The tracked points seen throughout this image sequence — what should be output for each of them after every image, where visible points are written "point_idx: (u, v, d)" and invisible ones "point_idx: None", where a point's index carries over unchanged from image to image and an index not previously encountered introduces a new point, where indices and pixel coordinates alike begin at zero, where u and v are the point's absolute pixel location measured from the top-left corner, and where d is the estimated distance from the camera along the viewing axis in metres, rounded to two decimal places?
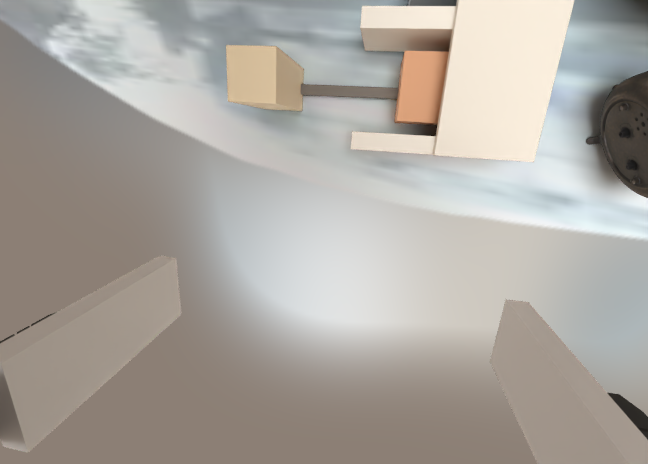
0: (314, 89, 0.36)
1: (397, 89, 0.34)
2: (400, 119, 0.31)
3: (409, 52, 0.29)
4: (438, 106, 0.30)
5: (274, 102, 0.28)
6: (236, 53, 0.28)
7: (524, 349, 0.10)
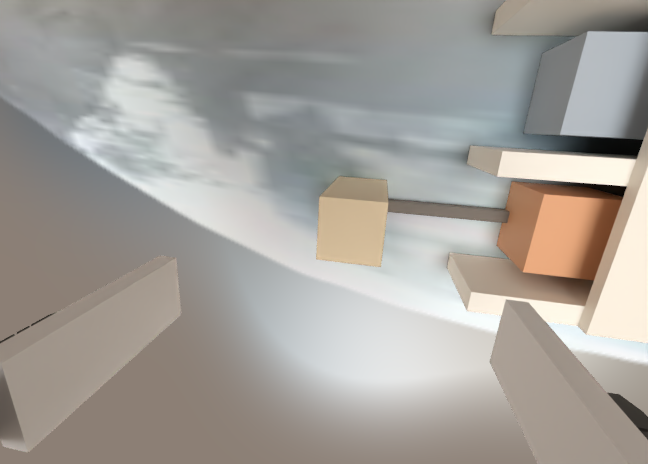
0: (401, 207, 0.29)
1: (508, 213, 0.28)
2: (528, 270, 0.24)
3: (550, 196, 0.22)
4: (581, 259, 0.23)
5: (378, 265, 0.22)
6: (332, 207, 0.21)
7: (524, 349, 0.10)
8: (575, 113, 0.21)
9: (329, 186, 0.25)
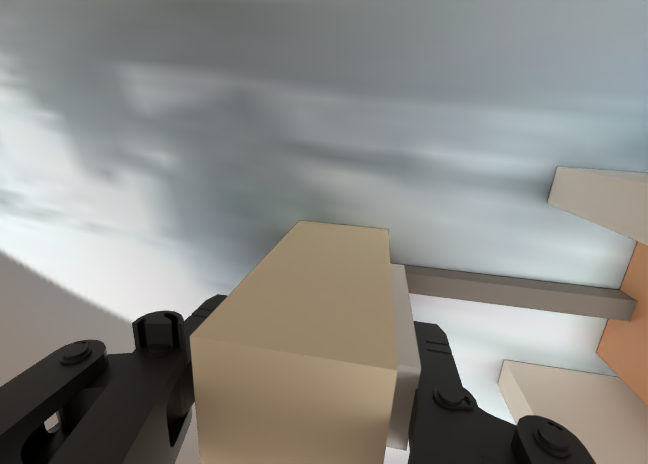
0: (416, 283, 0.15)
1: (634, 304, 0.14)
2: None
3: None
4: None
5: None
6: (229, 367, 0.07)
7: None
8: None
9: (257, 265, 0.11)
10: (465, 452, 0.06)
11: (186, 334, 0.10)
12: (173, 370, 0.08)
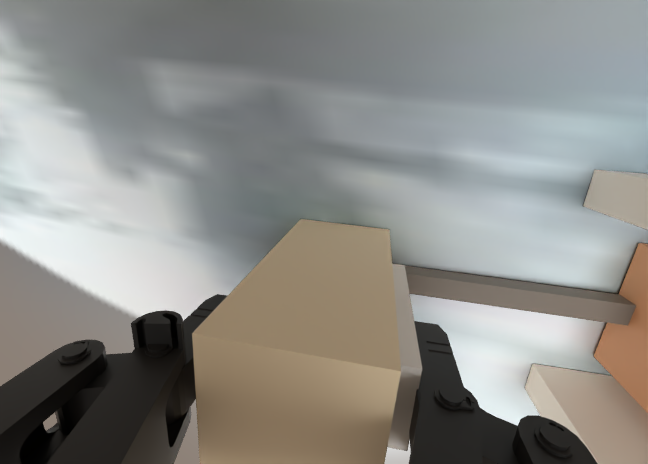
0: (416, 284, 0.15)
1: (632, 308, 0.14)
2: None
3: None
4: None
5: None
6: (232, 365, 0.07)
7: None
8: None
9: (259, 263, 0.11)
10: (466, 453, 0.06)
11: (185, 334, 0.10)
12: (172, 370, 0.08)
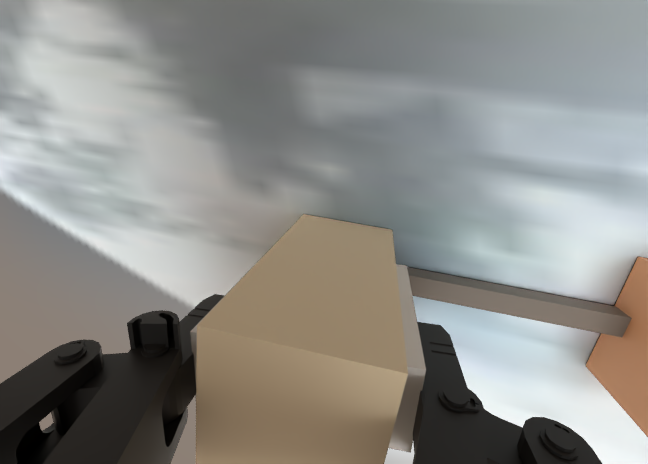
0: (416, 286, 0.15)
1: (628, 320, 0.14)
2: None
3: None
4: None
5: None
6: (235, 359, 0.07)
7: None
8: None
9: (263, 257, 0.11)
10: (471, 454, 0.06)
11: (182, 334, 0.10)
12: (169, 370, 0.08)
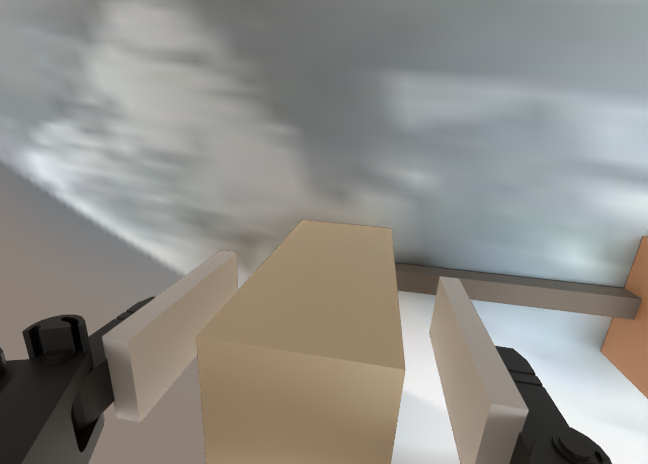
0: (420, 282, 0.15)
1: (638, 302, 0.14)
2: None
3: None
4: None
5: None
6: (236, 367, 0.07)
7: (446, 315, 0.11)
8: None
9: (261, 265, 0.11)
10: None
11: None
12: (76, 373, 0.07)
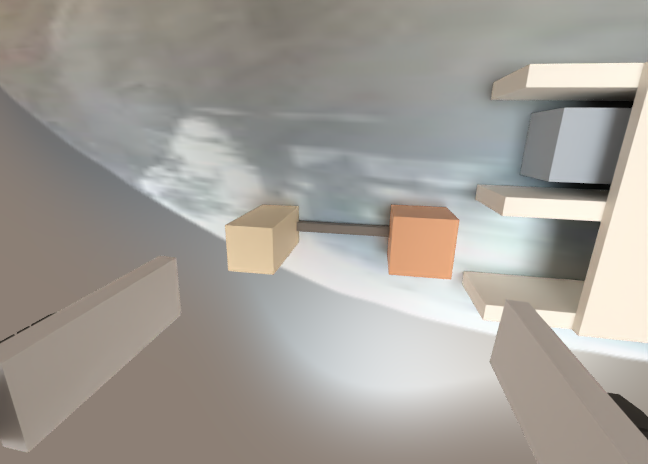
0: (309, 227, 0.37)
1: (388, 229, 0.36)
2: (392, 273, 0.32)
3: (397, 218, 0.31)
4: (427, 263, 0.31)
5: (272, 273, 0.30)
6: (234, 232, 0.29)
7: (524, 349, 0.10)
8: (559, 165, 0.27)
9: (243, 215, 0.33)
10: None
11: None
12: None
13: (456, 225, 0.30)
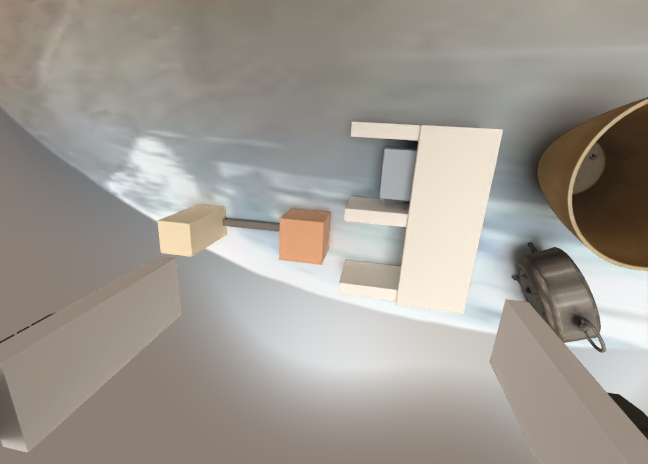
0: (232, 223, 0.50)
1: None
2: (281, 258, 0.45)
3: (282, 219, 0.43)
4: (305, 252, 0.44)
5: (191, 255, 0.42)
6: (164, 226, 0.42)
7: (524, 349, 0.10)
8: (385, 188, 0.40)
9: (176, 213, 0.45)
10: None
11: None
12: None
13: (322, 226, 0.42)
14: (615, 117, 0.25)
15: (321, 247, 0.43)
